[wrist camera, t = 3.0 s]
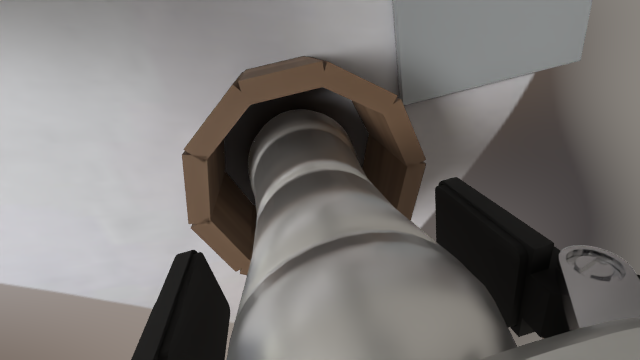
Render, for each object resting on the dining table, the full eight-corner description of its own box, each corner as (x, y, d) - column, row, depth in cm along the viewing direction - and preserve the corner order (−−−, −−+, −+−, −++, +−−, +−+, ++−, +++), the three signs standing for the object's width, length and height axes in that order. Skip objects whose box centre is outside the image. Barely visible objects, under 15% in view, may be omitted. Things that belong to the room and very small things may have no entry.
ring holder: (172, 87, 16) (129, 107, 11) (372, 39, 17) (421, 37, 12) (238, 241, 22) (230, 305, 16) (389, 199, 22) (429, 247, 17)
